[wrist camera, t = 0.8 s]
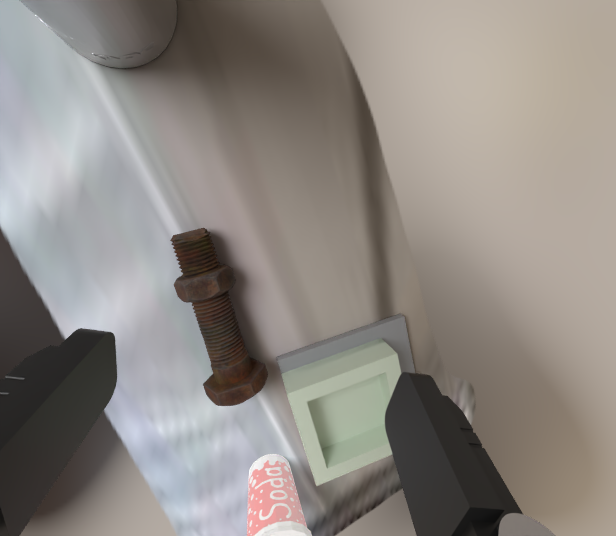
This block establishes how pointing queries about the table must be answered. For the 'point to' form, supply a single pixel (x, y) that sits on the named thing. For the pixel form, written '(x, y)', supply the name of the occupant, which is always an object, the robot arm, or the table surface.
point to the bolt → (216, 320)
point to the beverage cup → (274, 500)
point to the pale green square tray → (346, 395)
